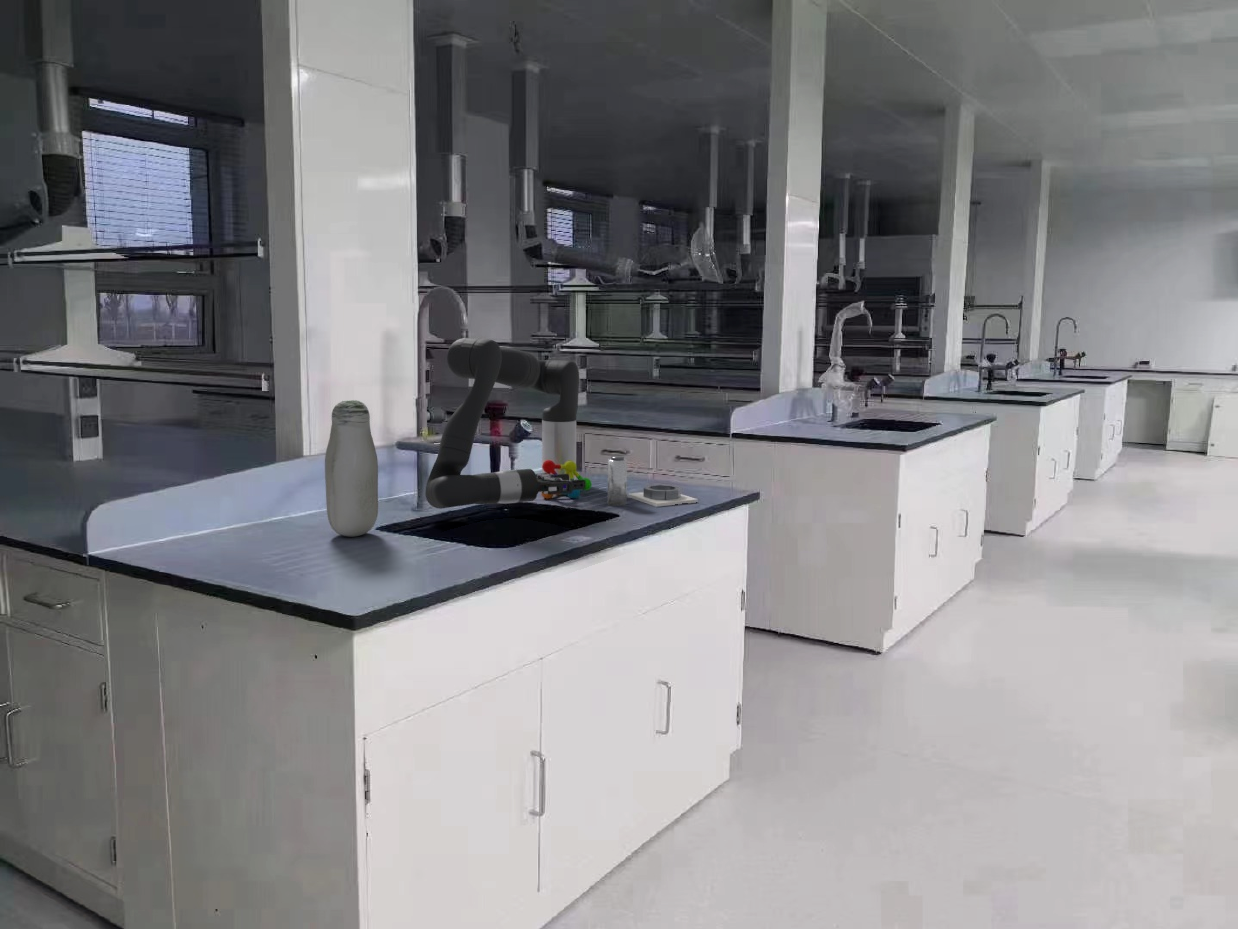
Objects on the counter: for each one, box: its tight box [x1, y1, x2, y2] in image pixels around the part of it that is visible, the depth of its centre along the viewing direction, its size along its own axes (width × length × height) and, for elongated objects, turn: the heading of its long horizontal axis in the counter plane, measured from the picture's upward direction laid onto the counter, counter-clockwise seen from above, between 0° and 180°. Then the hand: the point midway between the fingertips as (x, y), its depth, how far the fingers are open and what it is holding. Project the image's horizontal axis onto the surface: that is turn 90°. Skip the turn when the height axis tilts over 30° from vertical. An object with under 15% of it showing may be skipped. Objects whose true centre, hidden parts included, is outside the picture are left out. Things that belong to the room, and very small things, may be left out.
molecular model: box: [541, 460, 592, 500], centre depth 245 cm, size 11×10×15 cm
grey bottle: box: [324, 399, 379, 538], centre depth 199 cm, size 10×10×28 cm
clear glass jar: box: [607, 455, 628, 507], centre depth 236 cm, size 5×5×12 cm
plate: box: [626, 491, 699, 508], centre depth 243 cm, size 14×12×1 cm
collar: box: [643, 483, 682, 500], centre depth 243 cm, size 9×9×2 cm
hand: (576, 481), depth 230 cm, fingers open, 8 cm apart
